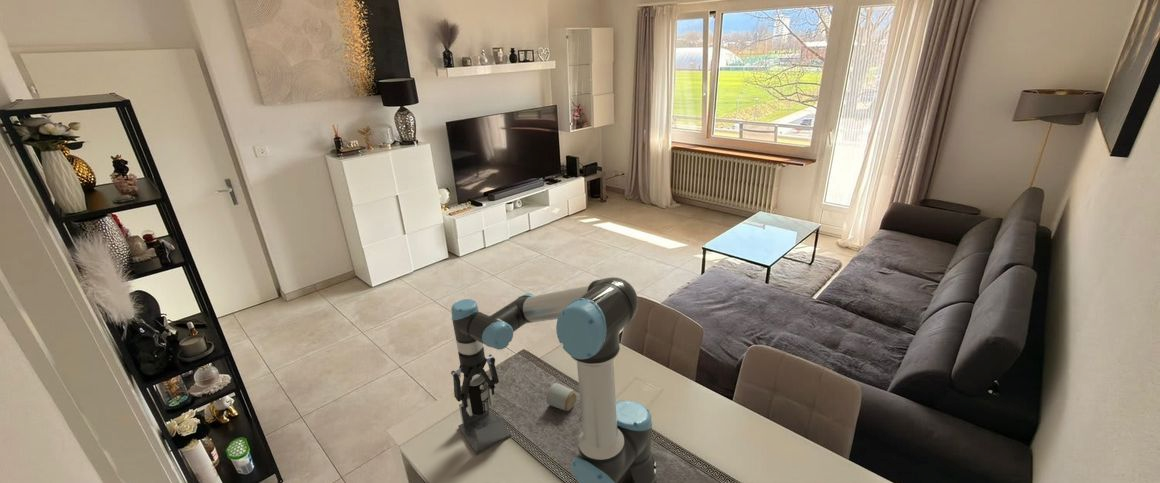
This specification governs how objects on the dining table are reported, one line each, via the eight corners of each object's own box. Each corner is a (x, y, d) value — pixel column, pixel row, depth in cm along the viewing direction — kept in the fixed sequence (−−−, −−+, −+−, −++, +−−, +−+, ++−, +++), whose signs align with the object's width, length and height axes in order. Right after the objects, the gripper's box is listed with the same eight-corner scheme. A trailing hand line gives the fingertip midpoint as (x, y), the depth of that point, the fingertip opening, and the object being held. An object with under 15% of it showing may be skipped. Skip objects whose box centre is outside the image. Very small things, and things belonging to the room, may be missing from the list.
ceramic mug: (567, 416, 160) (566, 398, 157) (546, 408, 164) (545, 391, 161) (582, 397, 169) (581, 379, 166) (562, 390, 173) (561, 373, 170)
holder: (510, 436, 154) (508, 414, 150) (476, 454, 147) (472, 432, 144) (491, 411, 164) (488, 390, 160) (458, 428, 158) (454, 406, 154)
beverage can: (467, 405, 153) (462, 376, 149) (487, 399, 156) (483, 369, 151) (472, 419, 148) (467, 388, 143) (493, 412, 150) (488, 381, 146)
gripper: (494, 330, 150) (502, 388, 160) (434, 355, 140) (446, 415, 149) (505, 341, 145) (512, 401, 154) (444, 367, 135) (455, 429, 144)
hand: (480, 408), depth 152 cm, fingers closed on beverage can, 7 cm apart
